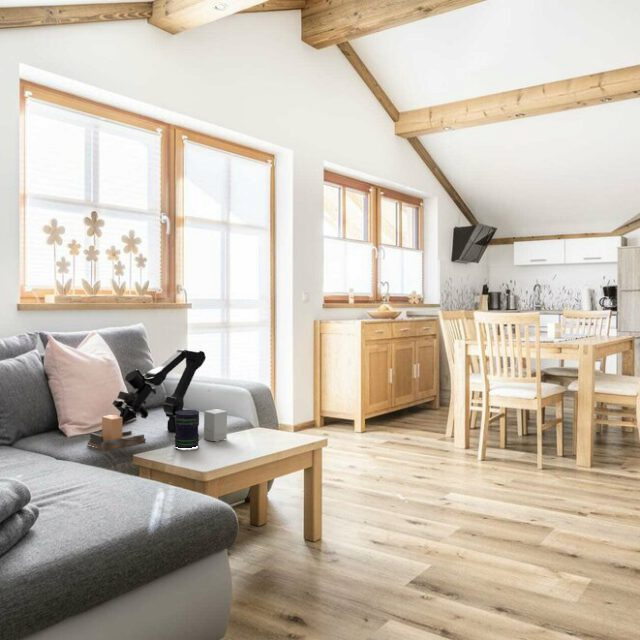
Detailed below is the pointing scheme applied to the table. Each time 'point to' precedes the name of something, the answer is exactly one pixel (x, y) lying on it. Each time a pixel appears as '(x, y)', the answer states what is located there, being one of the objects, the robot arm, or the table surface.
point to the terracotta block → (111, 427)
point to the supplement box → (215, 425)
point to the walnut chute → (115, 441)
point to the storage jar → (186, 428)
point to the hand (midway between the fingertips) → (117, 425)
